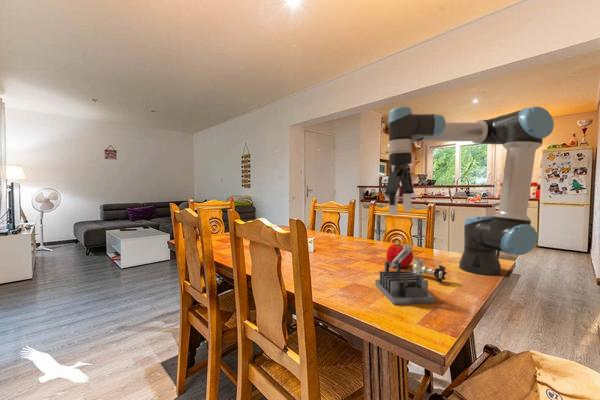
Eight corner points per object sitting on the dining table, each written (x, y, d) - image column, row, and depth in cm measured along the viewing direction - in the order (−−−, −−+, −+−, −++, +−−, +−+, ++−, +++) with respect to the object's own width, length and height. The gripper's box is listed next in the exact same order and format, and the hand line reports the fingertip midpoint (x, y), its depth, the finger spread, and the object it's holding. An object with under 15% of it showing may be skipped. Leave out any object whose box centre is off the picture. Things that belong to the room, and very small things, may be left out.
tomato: (381, 263, 131) (381, 241, 130) (403, 262, 133) (403, 240, 133) (394, 271, 119) (394, 247, 119) (418, 269, 121) (418, 246, 121)
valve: (408, 276, 113) (436, 284, 103) (408, 259, 113) (436, 267, 102) (418, 273, 116) (446, 281, 106) (418, 257, 116) (446, 264, 106)
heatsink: (374, 284, 103) (374, 261, 103) (408, 283, 104) (409, 260, 104) (393, 304, 86) (393, 277, 85) (434, 303, 86) (435, 276, 86)
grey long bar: (388, 267, 103) (387, 261, 104) (396, 267, 103) (394, 261, 104) (404, 250, 89) (403, 244, 90) (413, 250, 89) (411, 244, 90)
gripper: (402, 156, 111) (402, 209, 112) (374, 151, 91) (375, 215, 93) (422, 154, 106) (422, 210, 107) (397, 148, 87) (398, 217, 88)
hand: (400, 212), depth 100 cm, fingers open, 13 cm apart
